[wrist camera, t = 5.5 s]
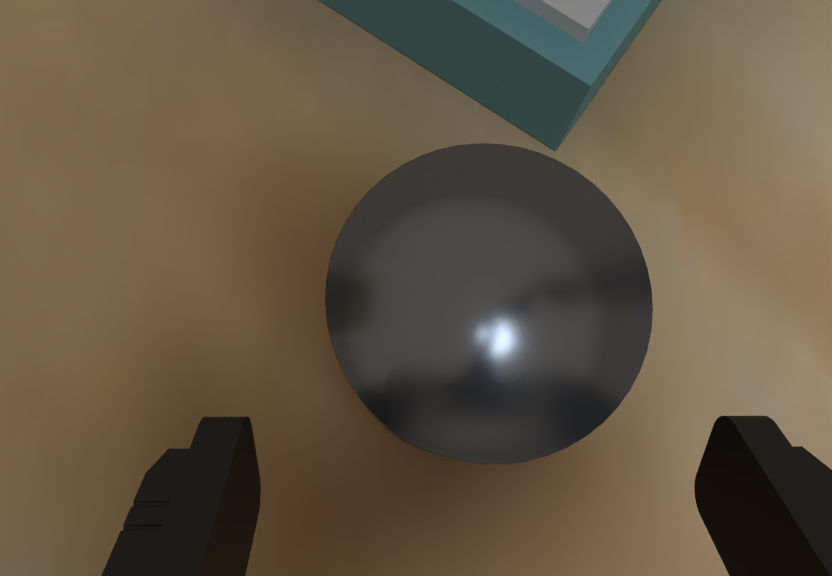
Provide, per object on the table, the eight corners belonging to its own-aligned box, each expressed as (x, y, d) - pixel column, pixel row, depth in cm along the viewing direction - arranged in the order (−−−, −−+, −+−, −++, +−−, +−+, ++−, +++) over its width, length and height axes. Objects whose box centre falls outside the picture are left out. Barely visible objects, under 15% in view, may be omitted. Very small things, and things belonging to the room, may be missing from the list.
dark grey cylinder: (556, 347, 20) (710, 256, 10) (466, 487, 19) (540, 536, 9) (422, 256, 20) (446, 88, 11) (327, 388, 19) (257, 333, 10)
